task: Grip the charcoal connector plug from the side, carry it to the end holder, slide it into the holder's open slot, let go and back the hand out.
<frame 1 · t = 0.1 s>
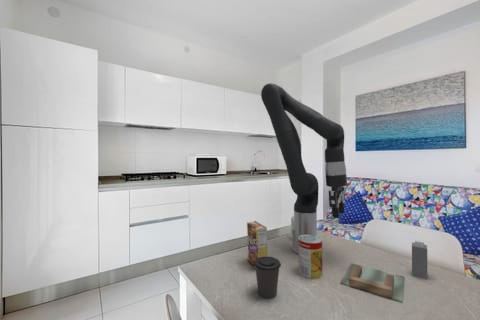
hand: (338, 215, 88), 17 cm above the table, tool pointing down, fingers open, 8 cm apart
coffee cup: (267, 293, 67), on the table
photo printer: (300, 238, 112), on the table
end holder: (373, 279, 74), on the table
connector plug: (419, 275, 76), on the table
candy box: (257, 265, 85), on the table
canned food: (310, 273, 79), on the table
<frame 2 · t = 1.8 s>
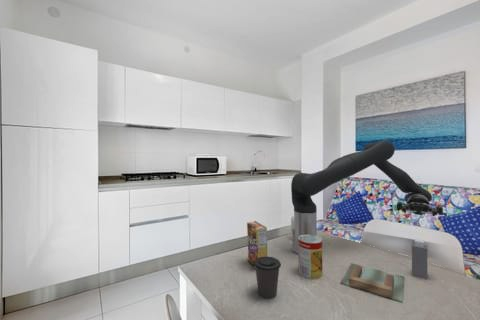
hand: (418, 211, 85), 19 cm above the table, tool horizontal, fingers open, 8 cm apart
nothing on the table moved.
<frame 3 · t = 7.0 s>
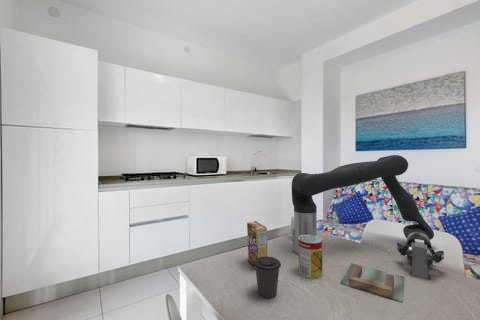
hand: (419, 260, 74), 6 cm above the table, tool horizontal, fingers closed on connector plug, 4 cm apart
connector plug: (419, 275, 76), on the table, touching gripper
everything else where it was.
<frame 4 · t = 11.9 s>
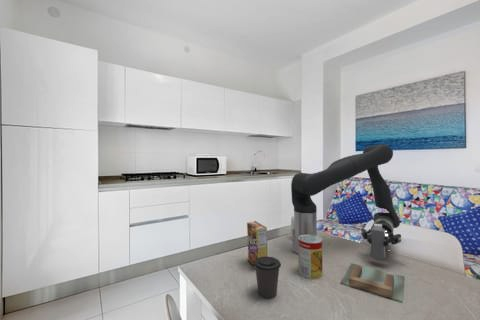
hand: (377, 242, 81), 9 cm above the table, tool horizontal, fingers closed on connector plug, 4 cm apart
connector plug: (378, 256, 84), point 3 cm above the table, touching gripper
everything else where it was.
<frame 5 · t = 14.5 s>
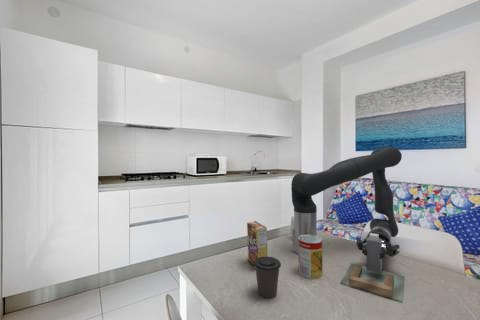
hand: (373, 254, 74), 8 cm above the table, tool horizontal, fingers closed on connector plug, 4 cm apart
connector plug: (374, 269, 76), point 2 cm above the table, touching gripper
everything else where it was.
when the fingers open (7 cm above the table, at t = 16.8 s): connector plug stays where it is, resting on end holder.
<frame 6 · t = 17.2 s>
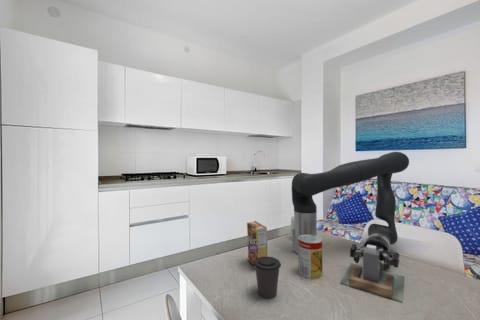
hand: (370, 263, 69), 8 cm above the table, tool horizontal, fingers open, 7 cm apart
connector plug: (371, 283, 71), resting on end holder
everything else where it was.
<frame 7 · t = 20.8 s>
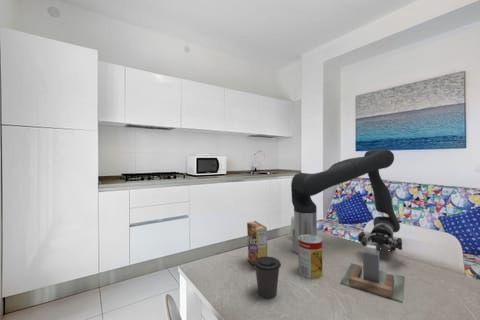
hand: (377, 246, 82), 7 cm above the table, tool horizontal, fingers open, 8 cm apart
nothing on the table moved.
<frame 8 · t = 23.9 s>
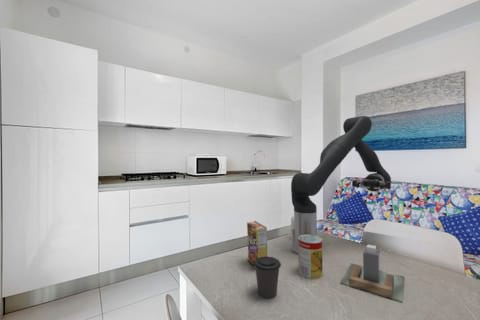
hand: (368, 186, 92), 28 cm above the table, tool horizontal, fingers open, 8 cm apart
nothing on the table moved.
at the end: connector plug 0.9 cm from the target spot on the end holder, point 0.4 cm above the end holder's base; connector plug tilted 0°; the gripper is holding nothing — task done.
